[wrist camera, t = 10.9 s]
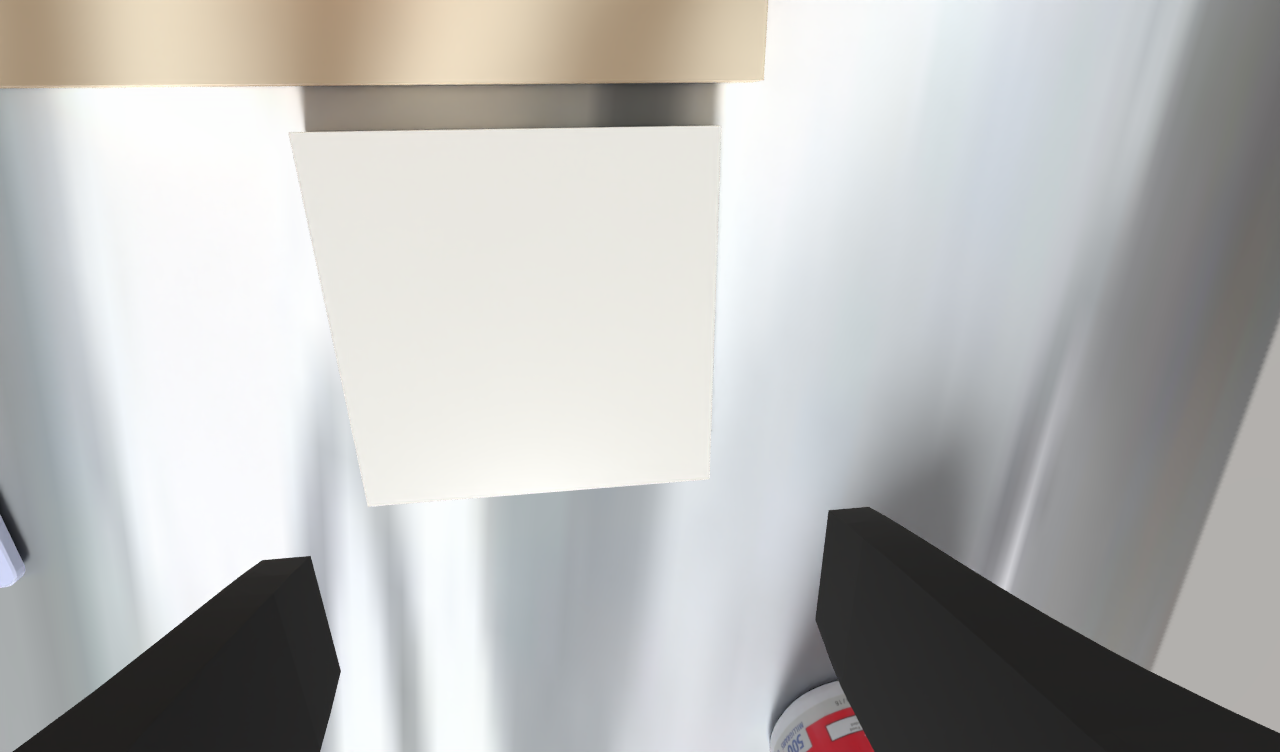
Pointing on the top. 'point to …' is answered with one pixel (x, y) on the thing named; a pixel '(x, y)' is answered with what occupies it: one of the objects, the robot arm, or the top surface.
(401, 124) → the top surface
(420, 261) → the white square plate
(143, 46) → the beige flat block
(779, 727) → the pill bottle
